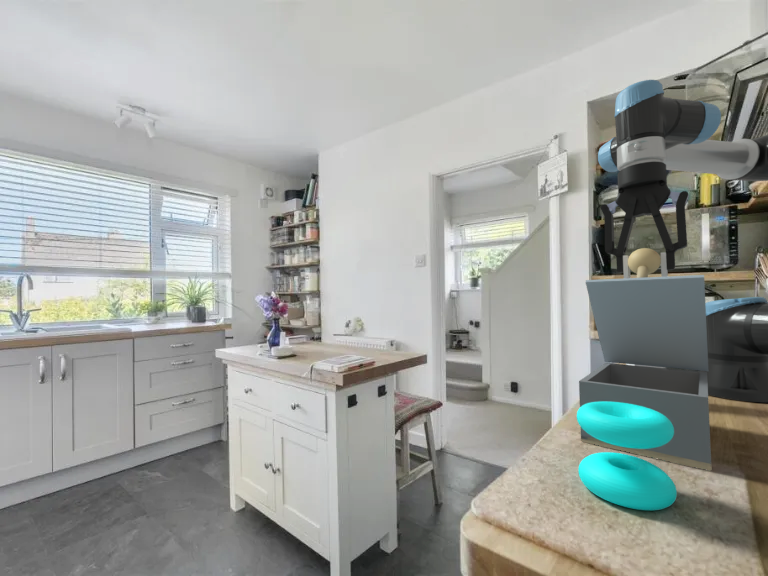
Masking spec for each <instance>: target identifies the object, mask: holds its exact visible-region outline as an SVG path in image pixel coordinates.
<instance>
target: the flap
mask: <svg viewBox="0 0 768 576" xmlns="http://www.w3.org/2000/svg"><path fill="white" fill-rule="evenodd" d="M628 256H629V258H628V266H629V268H630V271H631V272H633V273H634V274H636V277H630V278H624V277H623V278H605V279H586V280H585V285H586V290H587V294H588V299H589V302H590V307H591V311H592V315H593V319H594V322H595V327H596V331H597V335H598V339H599V344H600V348H601V351H602V352H601V353H602V357H603V360H604V363H613V364H624V365H626V364H634V365H645V366H656V367H666V368H667V369H678V370H689V371H699V370H700V371H708V350H707V328H706V306H705V303H706V287H705V286H706V285H705V284H706V283H705V274H694V275H690V274H689V275H672V276H669V275H668V277H662V276H652V277H651V276H649V275H652V274H653V273H655V272H657V271H658V270H659V268H660V267H661V254H659V253H658V252H657V251H656V250H654V249H652V248H649V247H642V248H638V249H636V250H634V251H632V252H631V254H630V255H628Z"/></svg>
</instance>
